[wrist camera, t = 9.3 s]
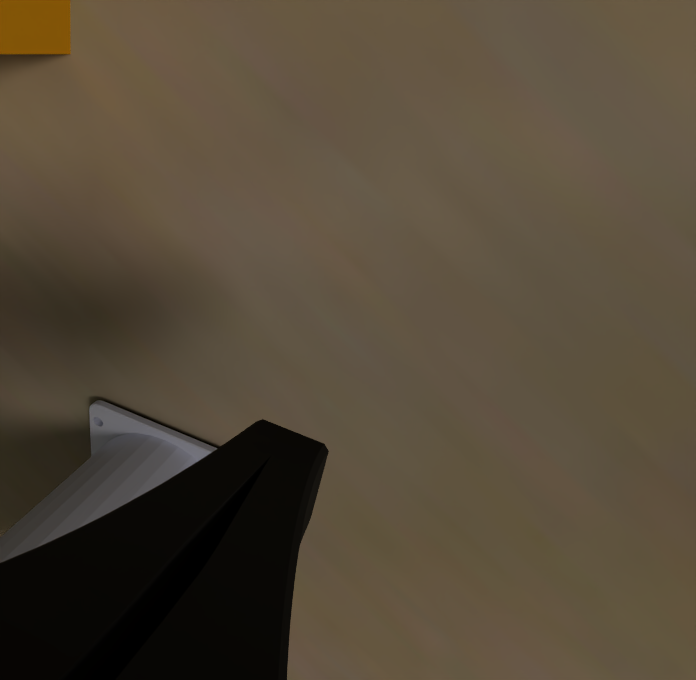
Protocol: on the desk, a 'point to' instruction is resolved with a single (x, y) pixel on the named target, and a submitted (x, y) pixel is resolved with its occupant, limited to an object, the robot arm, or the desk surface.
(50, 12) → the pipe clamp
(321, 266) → the desk surface
